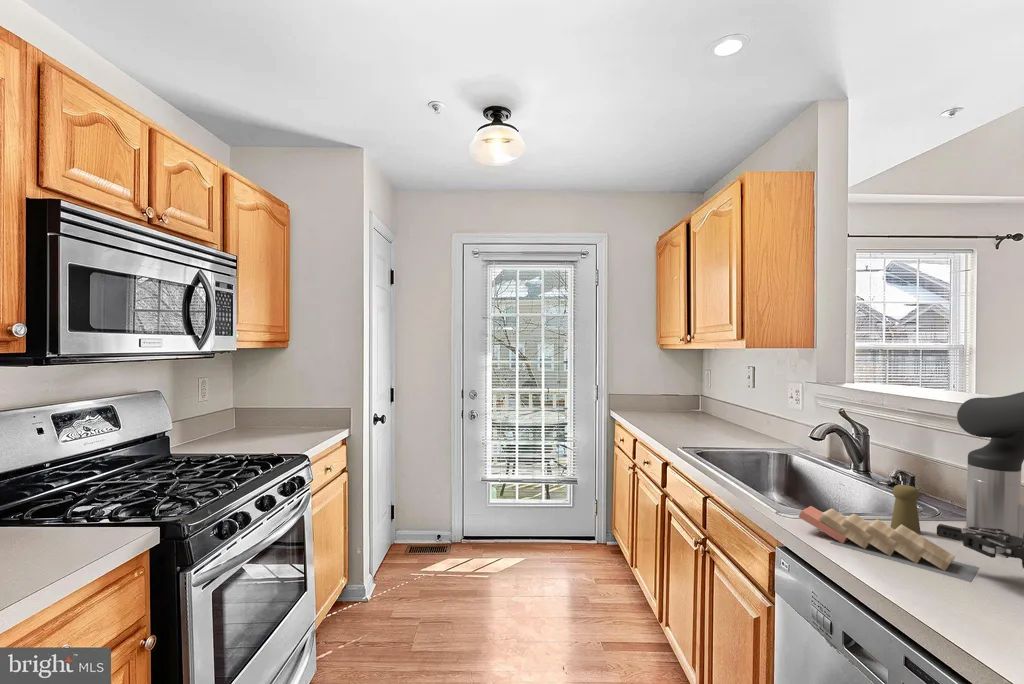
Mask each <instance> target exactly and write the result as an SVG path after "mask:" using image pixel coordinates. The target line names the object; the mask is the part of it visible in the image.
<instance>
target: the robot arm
mask: <svg viewBox="0 0 1024 684" xmlns="http://www.w3.org/2000/svg"><path fill="white" fill-rule="evenodd" d="M956 419H957V423H958V425H959V426H960V428H961V429H962V430H963V431H964V432H965V433H967V434H969V435H971V436H974V437H978V438H989V439H990V440H989V442H988V443H987V444H985V445H984V446H982V447H979V448H977V449H973V450H971V451H969V452H968V453H967V471H966V472H967V474H966V477H967V481H966V518H965V519H966V520H965V521H966V522H965V523H966V525H965V527H963V528H962V527H956V526H951V525H948V524H943V523H939V524H938V525H937V526H936V535H937V536H938V537H941V538H945V539H949V540H954V541H959V542H960V543H961V544H962V545H963V547H965V548H968V549H970V550H973V551H975V552H978V553H979V554H982V555H983V556H986V557H989V558H990V559H991V558H996V557H1000V558H1005V559H1009V558H1012V559H1013V558H1014V559H1020V560H1021V566H1022V568H1023V569H1024V504H1023V503H1022V499H1021V498H1022V467H1023V463H1024V391H1021V392H1017V393H1013V394H1012V393H1011V394H1009V395H1004V396H995V397H973V398H969V399H967V400H965V401H964V402H963V403H962V404H961V405H960V406H959V407H958V409H957V413H956Z"/></svg>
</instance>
